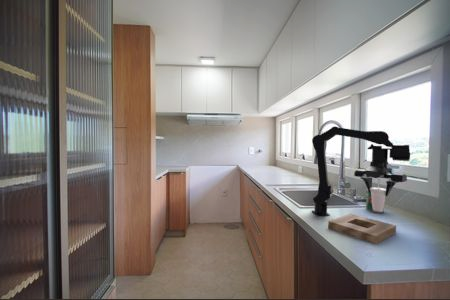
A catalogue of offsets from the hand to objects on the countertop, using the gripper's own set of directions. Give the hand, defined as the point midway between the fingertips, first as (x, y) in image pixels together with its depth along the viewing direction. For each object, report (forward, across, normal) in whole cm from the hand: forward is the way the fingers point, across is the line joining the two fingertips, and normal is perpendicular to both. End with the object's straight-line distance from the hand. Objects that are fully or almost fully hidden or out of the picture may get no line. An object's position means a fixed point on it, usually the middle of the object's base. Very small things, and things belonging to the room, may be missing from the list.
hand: (378, 194), depth 101 cm
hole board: (+13, 0, -15) cm, 20 cm away
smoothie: (+7, 0, 0) cm, 7 cm away
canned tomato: (+13, -9, +21) cm, 26 cm away
